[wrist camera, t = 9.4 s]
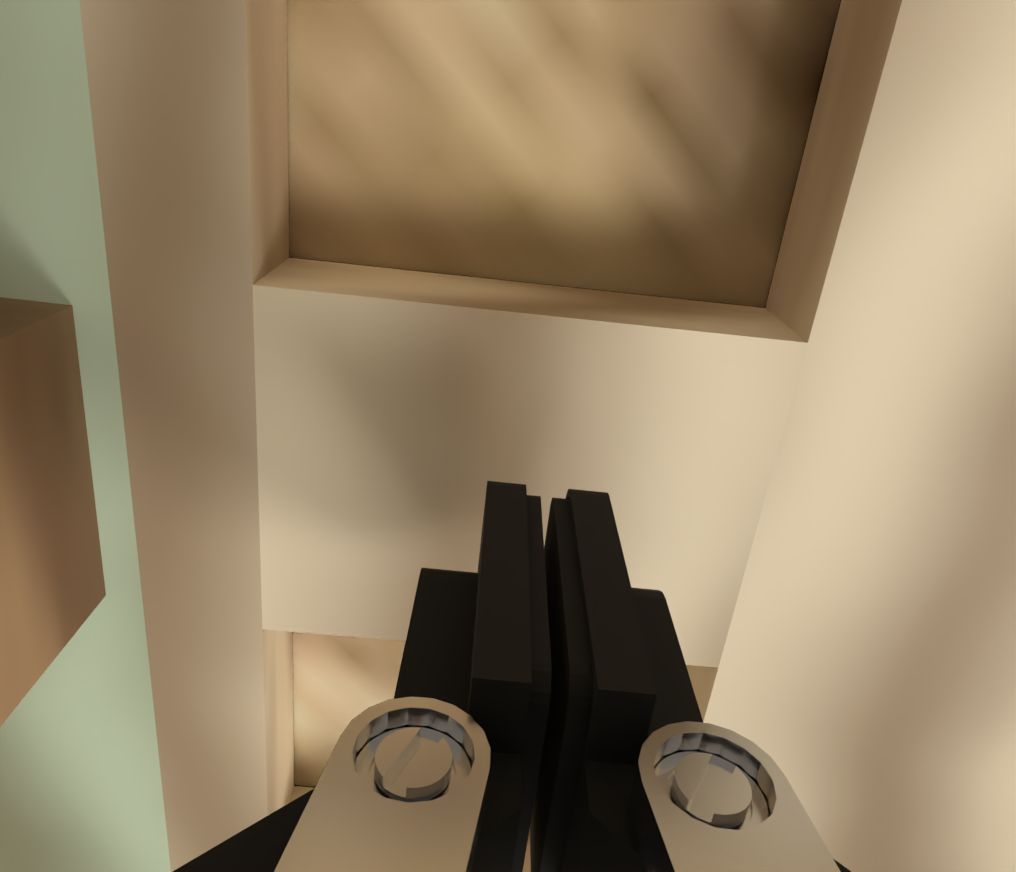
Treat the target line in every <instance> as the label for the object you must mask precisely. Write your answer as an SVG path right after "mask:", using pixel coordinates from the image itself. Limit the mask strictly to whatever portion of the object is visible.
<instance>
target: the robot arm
mask: <svg viewBox="0 0 1016 872" xmlns="http://www.w3.org/2000/svg"><path fill="white" fill-rule="evenodd" d="M529 830H530V860H531V872H851V871H850V870H848V869H847V868H846V867H844V866H843V865H842V864H840V863H839V862H837V861H836V860H835V859H833V857H832V856H831V854H830V852H829V851H828V849H827V847H826V845H825V844H824V842H823V840H822V838H821V837H820V835H819V833H818V831H817V830H816V828H815V826H814V825H813V823H812V821H811V819H810V818H809V816H808V814H807V812H806V811H805V809H804V807H803V806H802V804H801V802H800V800H799V799H798V797H797V795H796V793H795V792H794V790H793V788H792V786H791V785H790V783H789V781H788V780H787V778H786V776H785V775H784V773H783V772H782V771H781V769H780V768H779V767H778V765H777V764H776V763H775V761H774V760H773V759H772V758H771V757H770V756H769V755H768V754H767V753H766V752H764V751H763V750H762V749H761V748H760V747H758V746H757V745H756V744H755V743H754V742H752V741H750V740H749V739H747V738H745V737H743V736H741V735H739V734H738V733H736V732H734V731H732V730H729V729H726V728H723V727H720V726H717V725H713V724H710V723H703V719H702V716H701V713H700V710H699V706H698V703H697V700H696V696H695V693H694V690H693V687H692V683H691V680H690V677H689V673H688V670H687V667H686V664H685V660H684V657H683V654H682V650H681V647H680V644H679V641H678V637H677V634H676V631H675V627H674V624H673V621H672V618H671V614H670V611H669V608H668V605H667V601H666V598H665V596H664V594H663V592H661V591H660V590H653V589H642V588H632V587H631V584H630V580H629V576H628V572H627V567H626V563H625V559H624V555H623V551H622V547H621V542H620V538H619V534H618V530H617V526H616V522H615V517H614V513H613V509H612V505H611V501H610V497H609V494H608V493H606V492H596V491H586V490H576V489H568V491H567V494H566V498H565V499H563V498H553V497H552V500H551V505H550V511H549V518H548V525H547V532H546V539H545V545H544V539H543V524H542V508H541V496H533V495H527V490H526V484H516V483H505V482H495V481H487V488H486V497H485V506H484V516H483V525H482V534H481V544H480V553H479V563H478V572H477V573H474V572H463V571H453V570H442V569H432V568H421V571H420V575H419V580H418V585H417V590H416V594H415V599H414V604H413V609H412V614H411V619H410V624H409V628H408V633H407V638H406V643H405V648H404V653H403V657H402V662H401V667H400V672H399V677H398V682H397V686H396V691H395V696H394V699H390V700H387V701H384V702H382V703H379V704H377V705H374V706H372V707H369V708H368V709H366V710H365V711H363V712H362V713H361V714H359V715H358V716H357V717H355V718H354V719H353V720H352V721H351V722H350V723H349V725H348V726H347V727H346V729H345V730H344V732H343V733H342V734H341V736H340V738H339V740H338V742H337V744H336V746H335V748H334V750H333V752H332V754H331V756H330V758H329V760H328V762H327V764H326V766H325V768H324V770H323V772H322V774H321V776H320V779H319V781H318V783H317V785H316V787H315V788H314V789H312V790H310V791H309V792H307V793H305V794H304V795H302V796H300V797H298V798H297V799H295V800H293V801H292V802H290V803H288V804H287V805H285V806H283V807H281V808H280V809H278V810H276V811H275V812H273V813H271V814H270V815H268V816H266V817H264V818H263V819H261V820H259V821H258V822H256V823H254V824H252V825H251V826H249V827H247V828H246V829H244V830H242V831H241V832H239V833H237V834H235V835H234V836H232V837H230V838H229V839H227V840H225V841H224V842H222V843H220V844H218V845H217V846H215V847H213V848H212V849H210V850H208V851H207V852H205V853H203V854H201V855H200V856H198V857H196V858H195V859H193V860H191V861H190V862H188V863H186V864H184V865H183V866H181V867H179V868H178V869H176V870H174V871H173V872H523V866H524V860H525V854H526V848H527V842H528V836H529Z"/></svg>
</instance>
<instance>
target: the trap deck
mask: <svg viewBox="0 0 1016 872" xmlns="http://www.w3.org/2000/svg"><path fill="white" fill-rule="evenodd" d="M0 297H3V298H12V299H21V300H30V301H39V302H48V303H57V304H66V305H72V306H73V315H74V323H75V332H76V341H77V349H78V358H79V366H80V375H81V384H82V392H83V401H84V410H85V418H86V427H87V436H88V444H89V453H90V461H91V470H92V479H93V487H94V496H95V505H96V513H97V522H98V530H99V539H100V548H101V556H102V565H103V574H104V582H105V591H106V596H105V597H104V598H103V600H102V601H101V602H100V603H99V605H98V606H97V607H96V608H95V610H94V611H93V612H92V613H91V615H90V616H89V617H88V618H87V619H86V621H85V622H84V623H83V624H82V626H81V627H80V628H79V629H78V631H77V632H76V633H75V634H74V636H73V637H72V638H71V639H70V641H69V642H68V643H67V644H66V646H65V647H64V648H63V649H62V651H61V652H60V653H59V654H58V656H57V657H56V658H55V659H54V661H53V662H52V663H51V664H50V666H49V667H48V668H47V669H46V671H45V672H44V673H43V674H42V676H41V677H40V678H39V679H38V681H37V682H36V683H35V684H34V686H33V687H32V688H31V689H30V691H29V692H28V693H27V694H26V696H25V697H24V698H23V699H22V701H21V702H20V703H19V704H18V706H17V707H16V708H15V709H14V711H13V712H12V713H11V714H10V715H9V717H8V718H7V719H6V720H5V722H4V723H3V724H2V725H1V727H0V872H173V871H174V870H176V869H178V868H179V867H181V866H183V865H184V864H186V863H188V862H190V861H191V860H193V859H195V858H196V857H198V856H200V855H201V854H203V853H205V852H207V851H208V850H210V849H212V848H213V847H215V846H217V845H218V844H220V843H222V842H224V841H225V840H227V839H229V838H230V837H232V836H234V835H235V834H237V833H239V832H241V831H242V830H244V829H246V828H247V827H249V826H251V825H252V824H254V823H256V822H258V821H259V820H261V819H263V818H264V817H266V816H268V815H270V814H271V813H273V812H275V811H276V810H278V809H280V808H281V807H283V806H285V805H287V804H288V803H290V802H292V801H293V800H295V799H297V798H298V797H300V796H302V795H304V794H305V793H307V792H309V791H310V790H312V789H314V788H313V787H300V786H294V723H293V632H300V633H312V634H324V635H336V636H348V637H360V638H372V639H384V640H396V641H406V638H407V633H408V628H409V624H410V619H411V614H412V609H413V604H414V599H415V594H416V590H417V585H418V580H419V575H420V571H421V568H432V569H442V570H453V571H463V572H474V573H477V572H478V563H479V553H480V544H481V534H482V525H483V516H484V506H485V497H486V488H487V481H495V482H505V483H516V484H526V490H527V495H533V496H541V508H542V524H543V539H544V545H545V539H546V532H547V525H548V518H549V511H550V505H551V500H552V497H553V498H563V499H565V498H566V494H567V491H568V489H576V490H586V491H596V492H606V493H608V494H609V497H610V501H611V505H612V509H613V513H614V517H615V522H616V526H617V530H618V534H619V538H620V542H621V547H622V551H623V555H624V559H625V563H626V567H627V572H628V576H629V580H630V584H631V587H632V588H642V589H653V590H660V591H661V592H663V594H664V596H665V598H666V601H667V605H668V608H669V611H670V614H671V618H672V621H673V624H674V627H675V631H676V634H677V637H678V641H679V644H680V647H681V650H682V654H683V657H684V660H685V664H686V667H687V670H688V673H689V677H690V680H691V683H692V687H693V690H694V693H695V696H696V700H697V703H698V706H699V710H700V713H701V716H702V719H703V723H710V724H713V725H717V726H720V727H723V728H726V729H729V730H732V731H734V732H736V733H738V734H739V735H741V736H743V737H745V738H747V739H749V740H750V741H752V742H754V743H755V744H756V745H757V746H758V747H760V748H761V749H762V750H763V751H764V752H766V753H767V754H768V755H769V756H770V757H771V758H772V759H773V760H774V761H775V763H776V764H777V765H778V767H779V768H780V769H781V771H782V772H783V773H784V775H785V776H786V778H787V780H788V781H789V783H790V785H791V786H792V788H793V790H794V792H795V793H796V795H797V797H798V799H799V800H800V802H801V804H802V806H803V807H804V809H805V811H806V812H807V814H808V816H809V818H810V819H811V821H812V823H813V825H814V826H815V828H816V830H817V831H818V833H819V835H820V837H821V838H822V840H823V842H824V844H825V845H826V847H827V849H828V851H829V852H830V854H831V856H832V857H833V859H835V860H836V861H837V862H839V863H840V864H842V865H843V866H844V867H846V868H847V869H848V870H850V871H851V872H1016V0H841V4H840V8H839V12H838V16H837V20H836V24H835V28H834V32H833V36H832V40H831V44H830V49H829V53H828V57H827V61H826V65H825V69H824V73H823V77H822V81H821V85H820V89H819V93H818V97H817V101H816V105H815V109H814V113H813V117H812V121H811V125H810V129H809V133H808V137H807V141H806V146H805V150H804V154H803V158H802V162H801V166H800V170H799V174H798V178H797V182H796V186H795V190H794V194H793V198H792V202H791V206H790V210H789V214H788V218H787V222H786V226H785V230H784V234H783V238H782V243H781V247H780V251H779V255H778V259H777V263H776V267H775V271H774V275H773V279H772V283H771V287H770V291H769V295H768V299H767V303H766V307H765V308H760V307H751V306H741V305H732V304H723V303H713V302H704V301H694V300H685V299H675V298H666V297H656V296H647V295H638V294H628V293H619V292H609V291H600V290H590V289H581V288H571V287H562V286H552V285H543V284H534V283H524V282H515V281H505V280H496V279H486V278H477V277H467V276H458V275H448V274H439V273H430V272H420V271H411V270H401V269H392V268H382V267H373V266H363V265H354V264H344V263H335V262H326V261H316V260H307V259H297V258H289V172H288V62H287V0H0ZM523 872H531V860H530V830H529V836H528V842H527V848H526V854H525V860H524V866H523Z"/></svg>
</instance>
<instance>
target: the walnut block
mask: <svg viewBox="0 0 1016 872" xmlns="http://www.w3.org/2000/svg"><path fill="white" fill-rule="evenodd" d="M105 596H106V591H105V582H104V574H103V565H102V556H101V548H100V539H99V530H98V522H97V513H96V505H95V496H94V487H93V479H92V470H91V461H90V453H89V444H88V436H87V427H86V418H85V410H84V401H83V392H82V384H81V375H80V366H79V358H78V349H77V341H76V332H75V323H74V315H73V306H72V305H66V304H57V303H48V302H39V301H30V300H21V299H12V298H3V297H0V727H1V725H2V724H3V723H4V722H5V720H6V719H7V718H8V717H9V715H10V714H11V713H12V712H13V711H14V709H15V708H16V707H17V706H18V704H19V703H20V702H21V701H22V699H23V698H24V697H25V696H26V694H27V693H28V692H29V691H30V689H31V688H32V687H33V686H34V684H35V683H36V682H37V681H38V679H39V678H40V677H41V676H42V674H43V673H44V672H45V671H46V669H47V668H48V667H49V666H50V664H51V663H52V662H53V661H54V659H55V658H56V657H57V656H58V654H59V653H60V652H61V651H62V649H63V648H64V647H65V646H66V644H67V643H68V642H69V641H70V639H71V638H72V637H73V636H74V634H75V633H76V632H77V631H78V629H79V628H80V627H81V626H82V624H83V623H84V622H85V621H86V619H87V618H88V617H89V616H90V615H91V613H92V612H93V611H94V610H95V608H96V607H97V606H98V605H99V603H100V602H101V601H102V600H103V598H104V597H105Z"/></svg>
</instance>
